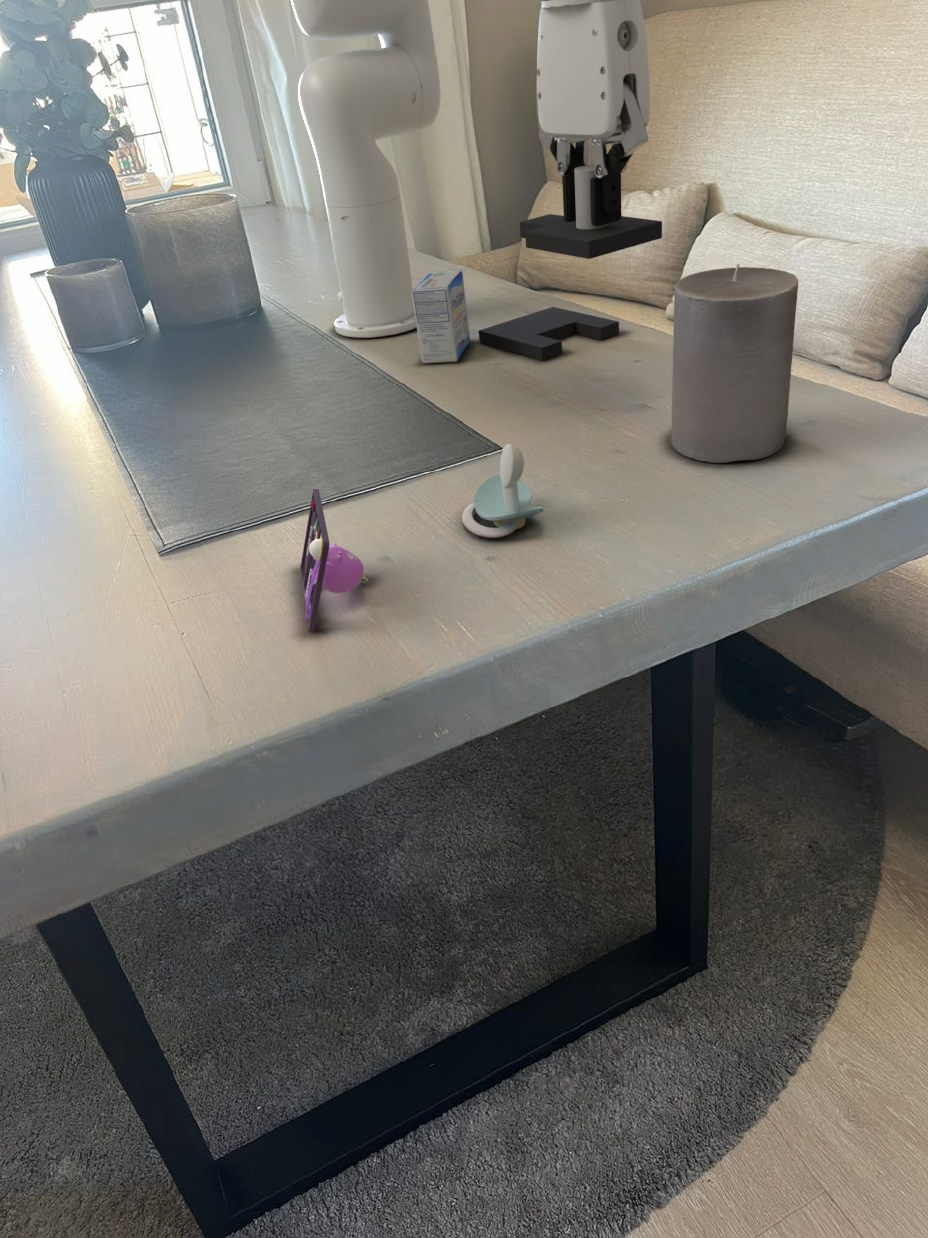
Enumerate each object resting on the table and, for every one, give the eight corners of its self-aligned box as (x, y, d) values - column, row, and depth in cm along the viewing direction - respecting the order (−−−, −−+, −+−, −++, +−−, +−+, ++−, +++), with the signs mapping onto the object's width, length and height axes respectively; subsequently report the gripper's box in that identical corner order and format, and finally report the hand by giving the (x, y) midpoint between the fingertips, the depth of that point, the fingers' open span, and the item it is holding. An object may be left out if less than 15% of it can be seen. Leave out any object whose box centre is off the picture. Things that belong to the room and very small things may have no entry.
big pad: (479, 342, 115) (478, 330, 114) (553, 318, 121) (553, 306, 120) (542, 360, 107) (541, 347, 106) (619, 333, 112) (619, 321, 111)
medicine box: (457, 363, 109) (449, 286, 105) (420, 364, 110) (410, 288, 106) (470, 342, 116) (463, 269, 111) (435, 343, 117) (427, 271, 112)
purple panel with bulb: (303, 486, 67) (312, 541, 60) (374, 495, 69) (391, 550, 61) (290, 568, 71) (297, 630, 63) (358, 575, 72) (373, 637, 65)
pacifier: (476, 551, 71) (551, 533, 72) (465, 476, 67) (544, 457, 68) (454, 512, 77) (523, 495, 78) (442, 440, 73) (515, 424, 74)
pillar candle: (710, 414, 88) (716, 246, 80) (807, 434, 82) (824, 255, 74) (648, 449, 83) (648, 274, 75) (746, 474, 77) (758, 285, 68)
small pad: (500, 242, 92) (494, 170, 88) (569, 224, 96) (567, 154, 92) (589, 259, 83) (587, 179, 79) (662, 238, 87) (663, 160, 83)
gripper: (693, -31, 73) (686, 221, 83) (556, -14, 84) (565, 205, 94) (622, -23, 69) (624, 238, 79) (490, -6, 81) (506, 220, 91)
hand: (592, 218), depth 87 cm, fingers closed on small pad, 3 cm apart
